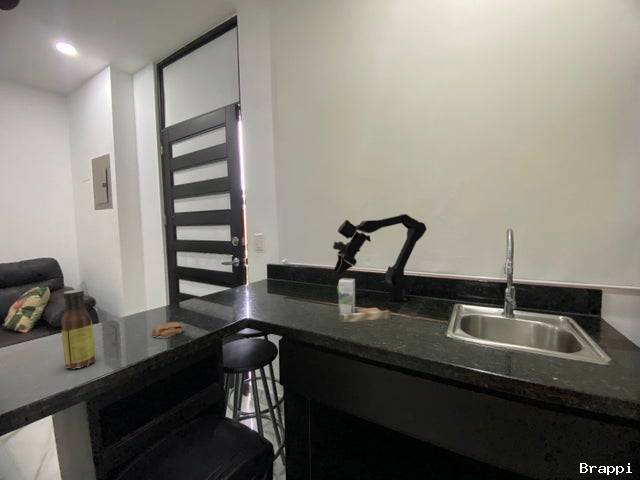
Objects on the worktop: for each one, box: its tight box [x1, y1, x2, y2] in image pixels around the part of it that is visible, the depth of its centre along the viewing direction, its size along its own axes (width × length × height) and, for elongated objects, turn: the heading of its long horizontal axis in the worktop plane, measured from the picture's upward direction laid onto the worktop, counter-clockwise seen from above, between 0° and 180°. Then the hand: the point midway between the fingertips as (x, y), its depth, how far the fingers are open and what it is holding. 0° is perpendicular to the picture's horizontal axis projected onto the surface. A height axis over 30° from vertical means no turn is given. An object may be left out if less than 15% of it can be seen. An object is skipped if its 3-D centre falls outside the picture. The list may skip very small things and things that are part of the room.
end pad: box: [355, 307, 381, 313], centre depth 117 cm, size 9×9×1 cm
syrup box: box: [338, 278, 356, 315], centre depth 114 cm, size 6×6×14 cm
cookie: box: [151, 321, 185, 337], centre depth 98 cm, size 10×11×3 cm
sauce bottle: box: [60, 289, 96, 368], centre depth 75 cm, size 7×6×20 cm
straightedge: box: [338, 309, 391, 324], centre depth 110 cm, size 20×2×3 cm, turn 104°
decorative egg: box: [336, 277, 349, 297], centre depth 142 cm, size 8×8×10 cm
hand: (336, 272), depth 132 cm, fingers open, 9 cm apart
